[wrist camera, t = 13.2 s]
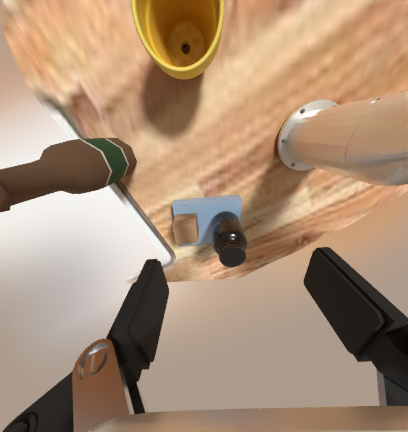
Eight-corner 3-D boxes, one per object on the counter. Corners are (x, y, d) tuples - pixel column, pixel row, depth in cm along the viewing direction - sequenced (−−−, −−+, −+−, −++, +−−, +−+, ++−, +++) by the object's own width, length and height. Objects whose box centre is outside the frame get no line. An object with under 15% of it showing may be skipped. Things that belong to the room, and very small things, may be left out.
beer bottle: (138, 178, 35) (38, 243, 14) (103, 172, 35) (-57, 231, 13) (137, 141, 32) (1, 155, 10) (98, 133, 31) (-132, 132, 10)
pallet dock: (238, 194, 37) (241, 199, 34) (238, 234, 43) (240, 241, 40) (174, 200, 38) (171, 205, 35) (181, 239, 43) (180, 245, 41)
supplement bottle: (210, 211, 36) (212, 243, 25) (239, 209, 36) (253, 240, 25) (212, 235, 39) (214, 272, 29) (238, 233, 39) (251, 270, 28)
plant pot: (145, 64, 26) (116, 30, 17) (173, -18, 22) (152, -117, 13) (197, 104, 29) (194, 91, 20) (230, 38, 24) (244, -14, 16)
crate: (196, 212, 36) (195, 223, 32) (198, 230, 38) (198, 242, 34) (175, 214, 36) (172, 225, 32) (179, 231, 39) (176, 244, 34)
